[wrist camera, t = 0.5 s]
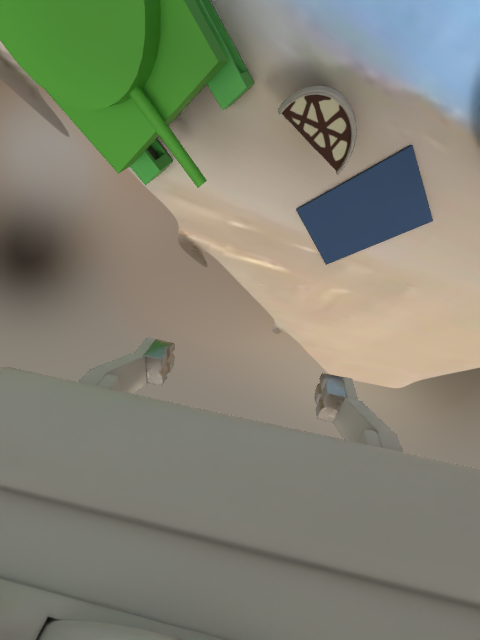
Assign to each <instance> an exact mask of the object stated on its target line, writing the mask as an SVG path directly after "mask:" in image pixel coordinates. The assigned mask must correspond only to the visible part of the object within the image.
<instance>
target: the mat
mask: <svg viewBox="0 0 480 640" xmlns="http://www.w3.org/2000/svg"><path fill="white" fill-rule="evenodd" d="M297 212H298V214H299V216H300V218H301V220H302V221H303V223H304V225H305V227H306V229H307V230H308V232H309V234H310V236H311V238H312V240H313V241H314V243H315V245H316V247H317V249H318V251H319V252H320V254H321V256H322V258H323V260H324V262H325V263H326V265H327V264H329V263H331V262H334V261H336V260H339V259H341V258H344V257H346V256H349V255H351V254H353V253H356V252H358V251H361V250H363V249H366V248H368V247H370V246H373V245H375V244H378V243H380V242H383V241H385V240H388V239H390V238H392V237H395V236H397V235H400V234H402V233H405V232H407V231H410V230H412V229H414V228H417V227H419V226H422V225H424V224H427V223H429V222H431V221H433V220H432V216H431V212H430V209H429V205H428V201H427V198H426V194H425V190H424V187H423V183H422V179H421V176H420V172H419V168H418V165H417V161H416V157H415V154H414V150H413V146H412V145H410V146H408V147H406V148H405V149H403V150H401V151H399V152H398V153H396V154H394V155H392V156H390V157H389V158H387V159H385V160H383V161H381V162H380V163H378V164H376V165H374V166H372V167H371V168H369V169H367V170H365V171H364V172H362V173H360V174H358V175H356V176H355V177H353V178H351V179H349V180H347V181H346V182H344V183H342V184H340V185H338V186H337V187H335V188H333V189H331V190H330V191H328V192H326V193H324V194H322V195H321V196H319V197H317V198H315V199H313V200H312V201H310V202H308V203H306V204H304V205H303V206H301V207H299V208H297Z"/></svg>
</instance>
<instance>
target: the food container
mask: <svg viewBox="0 0 480 640" xmlns="http://www.w3.org/2000/svg"><path fill="white" fill-rule="evenodd" d="M278 112H279V115H280V114H283V115H284V117H285V118H286V119H288V120H289V121H290V122H291V123H292V125H293V126H294V127H295V128H296V129H297V130H298V131H299V132H300V133H301V134H302V135H303V136H304V137H305V139H306V140H307V141H308V142H309V143H310V144H311V145H312V146H313V147H314V148H315V149H316V150H317V151H318V152H319V153H320V154H321V155H322V156H323V157H324V158H325V159H326V160H327V161H328V163H329V164H330V165H331V166H332V167H333V168H334V169H335V170H336V174H339V173H340V172H341V171H342V170H343V168H344V167H345V165H346V164H347V162H348V160H349V158H350V156H351V154H352V152H353V149H354V146H355V141H356V133H357V127H356V119H355V115H354V112H353V109H352V107H351V105H350V104H349V102H348V101H347V99H346V98H345V97H344V96H343V95H342V94H341V93H339V92H337V91H336V90H334V89H332V88H329V87H325V86H311V87H307V88H303V89H301V90H299V91H297V92H295V93H294V94H292V95H291V96H289V97H288V98H287V99H286V100H285V101H284V102H283V103H282V104H281V106H280V107H279V108H278Z"/></svg>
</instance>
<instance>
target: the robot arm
mask: <svg viewBox="0 0 480 640" xmlns="http://www.w3.org/2000/svg"><path fill="white" fill-rule="evenodd" d="M174 350H175V345H174V343H171V342H167V341H162V340H158V339H153V338H146V339H145V340H144V341H143V343H142V344H141V345H140V347H139V348H138V349H137V350H136V351H135V352H134V354H128V355H126V356H123V357H121V358H118V359H115V360H113V361H111V362H108V363H105V364H103V365H100V366H98V367H95V368H92V369H90V370H89V371H88V372H87V373H86V374H85V375H84V376H83V377H82V378H81V379H80V380H79V381H78V382H76V381H71V380H66V379H62V378H57V377H52V376H48V375H43V374H38V373H34V372H29V371H25V370H21V369H16V368H12V367H4V366H3V367H0V640H480V469H478V468H472V467H468V466H464V465H459V464H454V463H450V462H445V461H440V460H435V459H431V458H426V457H422V456H417V455H412V454H408V453H404V452H403V450H402V447H401V445H400V442H399V440H398V437H397V435H396V434H395V433H394V432H393V431H392V430H391V429H390V428H389V427H388V426H387V425H386V424H385V423H383V421H382V420H381V419H379V418H378V417H377V416H376V415H375V414H374V413H373V412H372V411H371V410H370V409H369V408H368V407H367V406H365V404H364V403H363V402H362V401H359V400H358V397H357V394H356V391H355V388H354V384H353V381H352V379H351V378H347V377H340V376H335V375H329V374H324V373H322V374H321V376H320V383H319V384H318V385H317V387H316V390H315V403H316V404H317V407H316V415H317V419H320V420H324V421H328V422H332V423H333V424H334V425H335V427H336V428H337V430H338V431H339V433H340V434H341V435H342V437H343V438H344V440H343V439H339V438H334V437H329V436H325V435H320V434H315V433H311V432H306V431H301V430H297V429H292V428H288V427H283V426H279V425H274V424H269V423H264V422H259V421H255V420H251V419H245V418H241V417H236V416H232V415H228V414H223V413H218V412H213V411H209V410H205V409H200V408H195V407H191V406H186V405H182V404H177V403H172V402H168V401H163V400H158V399H154V398H149V397H145V396H140V395H135V394H132V393H133V392H135V391H136V390H138V389H140V388H141V387H143V386H144V385H146V384H147V383H149V384H155V385H160V386H163V384H164V382H165V380H166V379H167V373H169V372H170V371H171V369H172V368H173V365H174V358H175V356H174V354H173V351H174Z"/></svg>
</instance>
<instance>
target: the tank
mask: <svg viewBox="0 0 480 640" xmlns="http://www.w3.org/2000/svg"><path fill="white" fill-rule="evenodd" d="M0 40H1V41H2V43H3V45H4V46H5V48H6V49H7V50H8V51H9V53H10V54H11V55H12V56H13V58H14V59H15V60H16V61H17V63H18V64H19V65H20V67H21V68H22V69H23V70H24V71H25V72H26V73H27V74H28V75H29V76H30V77H31V78H32V79H33V80H34V81H35V82H36V83H37V84H39V85H40V86H41V87H43V88H44V89H45V90H46V91H47V93H48V94H49V95H50V96H51V97H52V98H53V99H54V101H55V102H56V103H57V104H58V105H59V106H60V108H61V109H62V110H63V111H64V112H65V113H66V114H67V116H68V117H69V118H70V119H71V120H72V121H73V122H74V124H75V125H76V126H77V127H78V128H79V129H80V130H81V132H82V133H83V134H84V135H85V136H86V137H87V138H88V140H89V141H90V142H91V143H92V144H93V145H94V146H95V147H96V149H97V150H98V151H99V152H100V153H101V154H102V155H103V157H104V158H105V159H106V160H107V161H108V162H109V164H110V165H111V166H112V167H113V168H114V169H115V170H116V172H118V173H120V172H121V171H123V170H125V169H126V168H128V167H131V168H132V170H133V171H134V172H135V173H136V174H137V176H138V177H139V178H140V179H141V180H142V182H143V183H144V184H145V185H146V184H148V183H149V182H150V181H151V180H153V179H154V178H155V177H157V176H158V175H159V174H160V173H161V172H162V171H163V170H164V169H166V168H167V167H168V166H169V165H170V164H171V163H172V162H173V160H172V159H171V158H170V156H169V155H168V154H167V152H166V151H165V150H164V148H163V147H162V146H161V144H160V143H159V142H158V141H157V139H156V138H157V137H158V136H160V137H161V139H162V140H163V142H164V143H165V144H166V146H167V147H168V148H169V150H170V151H171V152H172V154H173V155H174V156H175V158H176V159H177V160H178V162H179V163H180V164H181V166H182V167H183V168H184V170H185V171H186V173H187V174H188V175H189V177H190V178H191V179H192V181H193V182H194V183H195V185H196V186H197V187H200V186H201V185H202V184H203V183H204V182H205V181H206V179H205V177H204V176H203V174H202V173H201V172H200V170H199V169H198V167H197V166H196V165H195V163H194V162H193V160H192V159H191V158H190V156H189V155H188V153H187V152H186V151H185V149H184V148H183V146H182V145H181V144H180V142H179V141H178V139H177V138H176V137H175V135H174V134H173V132H172V131H171V130H170V128H169V127H168V125H169V124H170V123H171V122H172V121H173V120H174V119H175V118H176V117H177V116H178V114H179V113H180V112H181V111H182V110H183V109H184V108H185V107H186V106H187V105H188V104H189V103H190V101H191V100H192V99H193V98H194V97H195V96H196V95H197V94H198V93H199V92H200V91H201V89H202V88H203V87H204V86H205V85H206V84H207V85H208V87H209V88H210V90H211V92H212V93H213V95H214V97H215V98H216V100H217V102H218V103H219V105H220V107H221V108H222V110H224V109H226V108H227V107H229V106H231V105H232V104H233V103H234V102H235V101H237V100H238V99H239V98H240V97H241V96H242V95H243V94H244V93H245V92H246V91H247V90H248V89H249V88H250V87H251V86H252V85H253V84H254V81H253V80H252V78H251V76H250V74H249V72H248V70H247V68H246V66H245V65H244V63H243V61H242V59H241V57H240V55H239V53H238V52H237V50H236V48H235V46H234V44H233V42H232V41H231V39H230V37H229V35H228V33H227V31H226V30H225V28H224V26H223V24H222V22H221V20H220V18H219V17H218V15H217V13H216V11H215V9H214V7H213V6H212V4H211V2H210V0H0Z"/></svg>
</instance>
